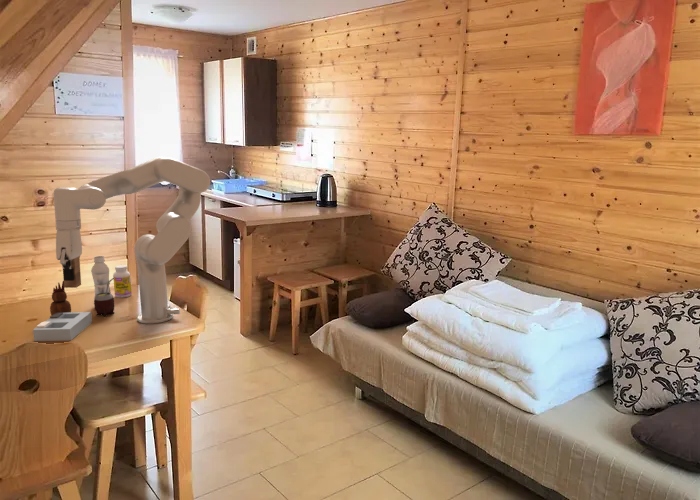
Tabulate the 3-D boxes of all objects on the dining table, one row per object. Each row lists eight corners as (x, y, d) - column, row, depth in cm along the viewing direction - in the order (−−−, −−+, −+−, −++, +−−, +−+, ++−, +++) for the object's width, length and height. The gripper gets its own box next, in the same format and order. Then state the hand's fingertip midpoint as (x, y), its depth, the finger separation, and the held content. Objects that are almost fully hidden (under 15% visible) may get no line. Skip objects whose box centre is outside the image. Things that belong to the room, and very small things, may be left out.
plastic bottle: (108, 308, 224) (104, 259, 220) (91, 308, 224) (86, 258, 220) (115, 303, 231) (111, 255, 226) (99, 303, 231) (94, 255, 226)
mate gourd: (95, 312, 219) (92, 275, 216) (117, 310, 222) (114, 273, 219) (94, 318, 212) (90, 279, 209) (117, 316, 215) (114, 277, 212)
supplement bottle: (113, 298, 237) (111, 268, 235) (116, 294, 244) (113, 265, 241) (130, 297, 239) (128, 267, 236) (132, 293, 245) (130, 264, 243)
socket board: (92, 322, 208) (90, 310, 207) (71, 340, 191) (69, 327, 190) (58, 323, 208) (57, 311, 207) (34, 341, 190) (32, 328, 189)
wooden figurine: (74, 317, 213) (70, 279, 210) (68, 322, 208) (63, 283, 205) (56, 318, 213) (51, 279, 210) (49, 323, 207) (44, 283, 204)
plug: (81, 284, 195) (79, 256, 193) (76, 287, 191) (74, 258, 189) (69, 284, 195) (67, 255, 193) (64, 287, 191) (62, 258, 189)
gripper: (67, 221, 197) (71, 272, 200) (45, 228, 180) (49, 284, 184) (89, 221, 197) (93, 273, 201) (69, 229, 181) (73, 284, 184)
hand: (72, 278), depth 192 cm, fingers closed on plug, 4 cm apart
